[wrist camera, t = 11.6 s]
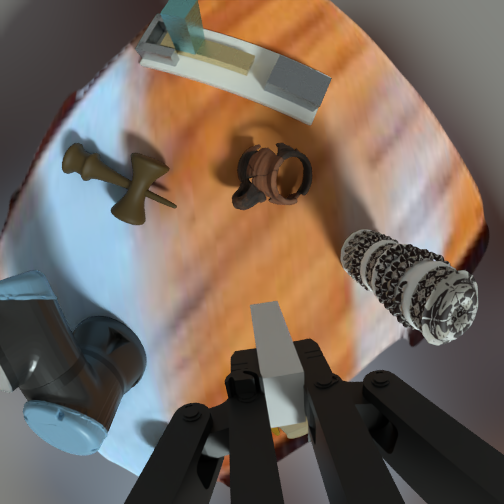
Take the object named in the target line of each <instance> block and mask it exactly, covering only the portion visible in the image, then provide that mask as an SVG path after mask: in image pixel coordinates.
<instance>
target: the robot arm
mask: <svg viewBox="0 0 504 504" xmlns="http://www.w3.org/2000/svg"><path fill="white" fill-rule="evenodd" d="M250 308H251V315H252V322H253V329H254V336H255V342H256V348H255V349H247V350H240V351H235V352H234V354H233V355H232V357H231V373H230V374H229V375H228V376H227V377H226V379H225V386H226V390H227V394H228V399H227V400H226V401H225V402H224V403H222V404H220V405H218V406H216V407H212V408H208V407H207V406H205V405H204V404H200V403H190V404H186V405H183V406H182V407H180V408H178V410H177V411H176V412H175V413H174V415H173V417H172V419H171V421H170V422H169V424H168V426H167V428H166V430H165V431H164V433H163V435H162V437H161V439H160V440H159V442H158V444H157V446H156V448H155V449H154V451H153V453H152V455H151V456H150V458H149V460H148V462H147V464H146V465H145V467H144V469H143V471H142V472H141V474H140V476H139V478H138V480H137V481H136V483H135V485H134V487H133V488H132V490H131V492H130V494H129V496H128V497H127V499H126V501H125V503H124V504H209V502H210V499H211V496H212V493H213V490H214V487H215V484H216V481H217V478H218V475H219V472H220V469H221V466H222V463H223V460H224V456H226V455H228V454H229V455H230V493H231V504H284V500H283V494H282V489H281V483H280V478H279V472H278V466H277V460H276V455H275V449H274V443H273V438H272V432H271V428H274V427H280V426H286V425H292V424H297V423H302V422H306V418H307V421H308V442H312V445H313V449H314V452H315V455H316V459H317V462H318V465H319V469H320V472H321V476H322V478H323V482H324V485H325V489H326V492H327V496H328V499H329V502H330V504H405V502H404V500H403V498H402V496H401V494H400V492H399V490H398V488H397V486H396V484H395V482H394V481H393V478H392V476H391V474H390V472H389V470H388V468H387V466H386V464H385V462H384V460H385V461H386V462H387V463H388V464H389V465H390V466H391V467H392V468H393V469H394V470H395V471H396V472H397V473H398V474H399V475H400V476H401V477H402V478H403V480H404V481H405V482H407V484H408V485H409V486H410V487H411V488H412V489H413V490H414V491H415V492H416V493H417V494H418V495H419V496H420V497H421V498H422V499H423V500H424V501H425V502H426V503H428V504H504V455H503V454H502V453H500V452H499V451H498V450H496V449H495V448H493V447H492V446H491V445H489V444H488V443H486V442H485V441H484V440H482V439H481V438H480V437H478V436H477V435H476V434H474V433H473V432H471V431H470V430H469V429H467V428H466V427H465V426H463V425H462V424H460V423H459V422H457V421H456V420H455V419H454V418H452V417H451V416H450V415H448V414H447V413H446V412H444V411H443V410H442V409H440V408H439V407H438V406H436V405H435V404H433V403H432V402H430V401H429V400H428V399H427V398H425V397H424V396H423V395H421V394H420V393H419V392H417V391H416V390H415V389H413V388H412V387H411V386H409V385H408V384H407V383H405V382H404V381H403V380H401V379H400V378H399V377H397V376H396V375H395V374H393V373H391V372H389V371H384V370H377V371H373V372H370V373H369V374H367V375H366V376H365V378H364V379H363V382H347V381H342V379H341V378H340V377H339V376H338V375H336V374H334V373H332V371H331V369H330V367H329V365H328V363H327V361H326V359H325V357H324V356H323V353H322V351H321V349H320V347H319V345H318V344H317V343H316V342H315V341H313V340H312V339H305V340H300V341H294V342H293V341H292V339H291V336H290V333H289V331H288V328H287V325H286V323H285V320H284V317H283V315H282V312H281V309H280V307H279V304H278V301H273V302H267V303H260V304H253V305H250ZM145 368H146V354H145V350H144V348H143V346H142V344H141V342H140V340H139V339H138V338H137V336H136V335H135V334H134V333H133V332H132V331H131V330H130V329H129V328H128V327H126V326H125V325H124V324H122V323H120V322H118V321H116V320H114V319H111V318H108V317H103V316H94V317H90V318H87V319H85V320H84V321H82V322H81V323H80V324H79V325H78V326H77V327H76V329H75V330H74V332H73V333H72V332H71V330H70V327H69V325H68V323H67V321H66V319H65V317H64V315H63V313H62V310H61V308H60V306H59V304H58V301H57V297H56V296H55V295H54V293H53V291H52V289H51V287H50V285H49V283H48V280H47V278H46V277H45V275H44V274H43V273H42V272H40V271H37V270H33V271H28V272H25V273H22V274H18V275H15V276H12V277H9V278H6V279H3V280H0V390H1V391H5V392H9V393H11V392H13V391H14V390H15V389H16V388H18V387H19V388H20V390H21V391H22V393H23V394H24V396H25V397H26V399H27V401H28V402H26V403H25V404H24V409H23V414H24V418H25V421H26V422H27V424H28V425H29V427H30V428H31V429H32V430H33V431H34V432H35V433H36V434H37V435H38V436H39V437H40V438H42V439H43V440H44V441H46V442H47V443H49V444H51V445H52V446H54V447H56V448H58V449H60V450H62V451H65V452H68V453H71V454H75V455H91V454H93V453H95V452H97V451H98V450H99V448H100V447H101V445H102V443H103V441H104V439H105V438H106V437H107V435H108V431H109V429H110V426H111V424H112V421H113V419H114V416H115V414H116V411H117V409H118V406H119V404H120V401H121V399H122V397H123V395H124V394H125V393H126V392H128V391H129V390H130V389H131V388H132V387H134V386H135V385H136V384H137V383H138V382H139V381H140V380H141V378H142V376H143V373H144V371H145ZM383 459H384V460H383Z"/></svg>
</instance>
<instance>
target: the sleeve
mask: <svg viewBox="0 0 504 504" xmlns="http://www.w3.org/2000/svg"><path fill="white" fill-rule="evenodd" d="M331 79H332V78H330V77H328V76H326V75H324V74H322V73H320V72H318V71H316V70H313V69H311V68H309V67H307V66H305V65H303V64H300V63H298V62H296V61H293V60H291V59H289V58H286V57H284V56H282V55H280V56H279V58H278V60H277V62H276V64H275V66H274V68H273V70H272V72H271V74H270V76H269V79H268V81H267V83H266V86H265V88H264V91H267V92H269V93H272V94H274V95H276V96H279V97H281V98H283V99H286V100H288V101H290V102H293V103H295V104H297V105H299V106H301V107H303V108H306V109H308V110H310V111H312V112H314V111H315V110H316V109H317V108H318V107H320V105H321V103H322V100H323V98H324V96H325V93H326V91H327V88H328V86H329V84H330V81H331Z"/></svg>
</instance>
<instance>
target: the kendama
mask: <svg viewBox="0 0 504 504" xmlns="http://www.w3.org/2000/svg"><path fill="white" fill-rule="evenodd" d="M131 162H132V169H133V178H132V181H131V180H129V179H127V178H126V177H124V176H122V175H121V174H119V173H117V172H116V171H114V170H113V169H111V168H110V167H108V166H107V165H106V164H105V163H103V162H102V161H101V159H100V155H99V154H98V153H92V154H90V153H88V152H86V151H85V150H84V147H83V145H82V144H80V143H74V144H73V145H72V146H70V147H69V148H68V150H67V151H66V153H65V155H64V157H63V161H62V170H63V172H64V173H67V174H70V173H73V172H77V173H79V174H80V175H81V177H82V179H83V180H85V181H88V180H90V179H98V180H102V181H106V182H109V183H112V184H115V185H118V186H121V187H124V188H126V189H128V191H127V193H126V194H125V195H124V197H123V198H122V199H121V200H120V201H118V202H117V203H116V204H115V205H114V206H113V207H112V208H111V213H112V214H113V215H114V216H115V217H116V218H118V219H119V220H121V221H124V222H126V223H129V224H132V225H142V224H144V222H145V209H144V201H145V197H148V198H150V199H153V200H155V201H157V202H160V203H162V204H164V205H167V206H169V207H172V208H177V206H176V205H175V204H174V203H172V202H170V201H168V200H167V199H165V198H163V197H161V196H159V195H157V194H155V193H153V192H151V191H149V190H148V189H149V187H150V185H151V184H152V183H153V182H154V181H155V180H156V179H158V178H159V177H161V176H162V175H164V174H165V173H167V172H168V171H169V167H168V166H166V165H165V164H163V163H161V162H160V161H158V160H155V159H153V158H151V157H148V156H145V155H142V154H139V153H132V154H131Z"/></svg>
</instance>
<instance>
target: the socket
mask: <svg viewBox="0 0 504 504" xmlns="http://www.w3.org/2000/svg"><path fill="white" fill-rule="evenodd" d="M163 32H165V33H167V32H168V31H167V28H166V26H165V24H164V21H163V19H162V17H161V14H159V13H157V14H156V16H155V17H154V19H153V20H152V22H151V23H150V25H149V27H148V28H147V30H146V31H145V33H144V35H143V36H142V38H141V40H140V41H139V43H138V45H137V47H136V48H135V49H136V51H137V52H138V53H139V55H140V56H141V57H142V59H147V60H151V61H155V62H159V63H163V64H167V65H171V66H174V67H176V65H177V63H178V61H179V60H180V59H179V57H178V55H177V53H176V50H175V49H172V48H168V47H164V46H159V45H156V44H157V42H158V41H159V39H160V37H161V36H162V34H163Z"/></svg>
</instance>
